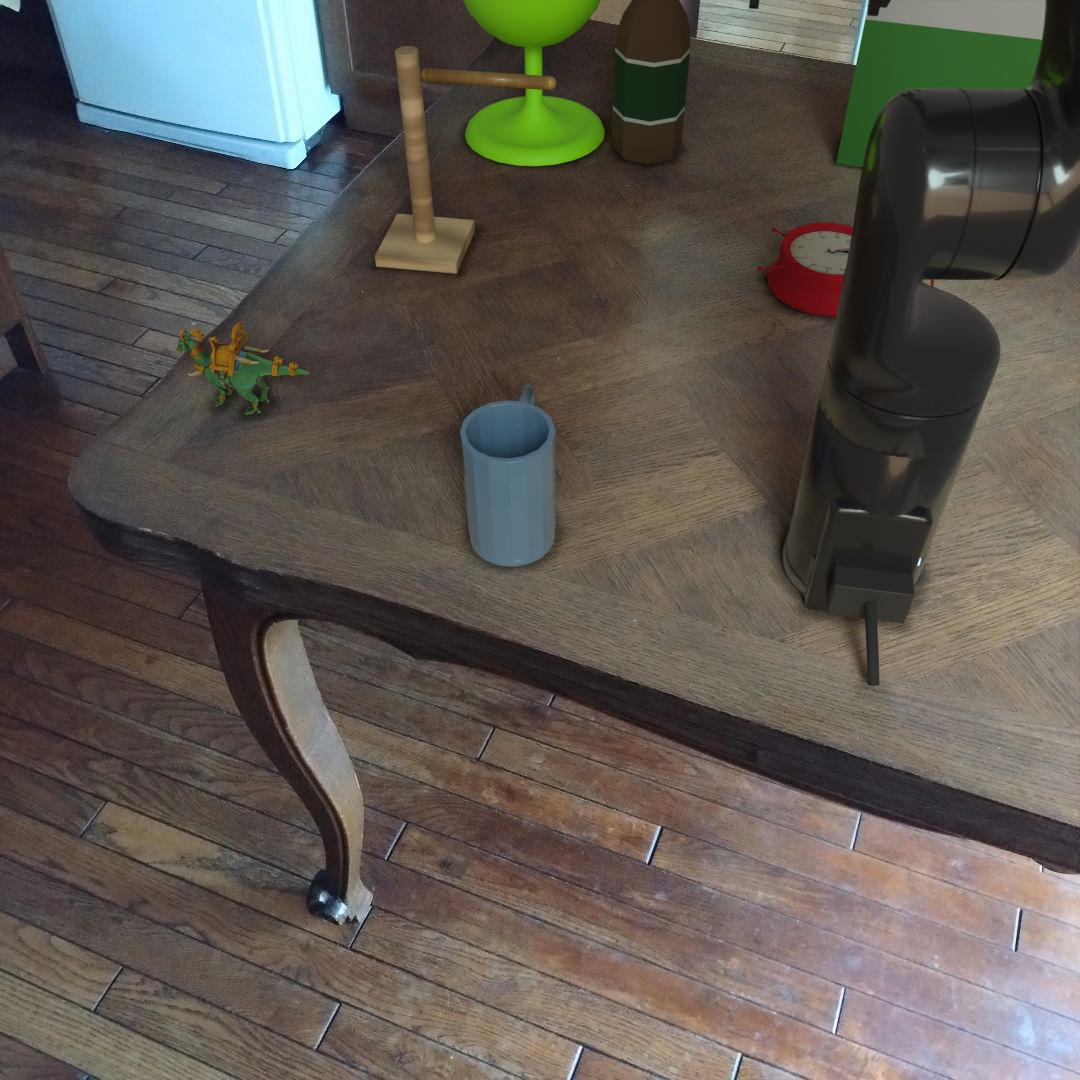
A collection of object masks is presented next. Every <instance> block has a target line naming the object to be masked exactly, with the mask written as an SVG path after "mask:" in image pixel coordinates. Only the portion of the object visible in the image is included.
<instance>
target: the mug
mask: <svg viewBox="0 0 1080 1080" xmlns="http://www.w3.org/2000/svg"><path fill="white" fill-rule="evenodd" d="M534 397H535V395H534V388H533V387H532V386H531V385H530V384H525V385H523V386H522V387H521V390H520V391H519V395H518V399H517V400H509V399H506V400H500V401H493V402H488V403H485V404H484V405H482V406H480V407H477V408H474V410H472V411H471V412H470V414H468V415H467V416H466V417H465V418H464V419H463V422H462V424H461V427H460V430H459V437H460V438H459V440H460V451H461V461H462V475H463V485H464V486H463V487H464V495H465V507H466V518H467V519H466V520H467V529H468V535H469V542H470V546H471V547H472V549H473V551H474V552H475V553H476V554H477V555H478V557H480V558H481V559H482V560H483V561H485V562H488V563H491V564H492V565H496V566H499V567H507V568H508V567H510V568H511V567H514V568H515V567H522V566H526V565H530V564H532V563H535V562H537V561H538V560H540V559H542V558H543V557H544V556H546V554H548V552H549V551H550V550H551V548H552V547H553V546H554V545H553V544H554V543H555V539H556V529H557V527H556V526H557V522H556V521H557V519H556V513H557V512H556V511H557V510H556V506H557V505H556V501H557V499H556V497H557V495H556V493H557V492H556V486H557V485H556V483H557V481H556V477H557V476H556V475H557V474H556V473H557V472H556V461H557V460H556V427H555V424H554V422H553V418H552V417H551V416H550V415H549V414H548V412H546V411H545V410H544V409H542V407H540V406H539V407H538V406H537V405H535V404H534V403H535V399H534Z"/></svg>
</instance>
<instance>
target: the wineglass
mask: <svg viewBox="0 0 1080 1080" xmlns="http://www.w3.org/2000/svg"><path fill="white" fill-rule="evenodd" d="M601 1H602V0H462V2H463V4H464V5H465V8H466V10H467V12H468V13H469V14H470V15H471V16H472V18H473V19H474V20H475V21H476V23H478V25H479V26H480V27H481V28H482V29H483V30H484V31H485V32H486V33H488V34H490V35H492V37H495V38H496V39H498V40H499V41H501V42H503V43H504V44H508V45H511V46H516V47H522V48H524V74H525V75H540V76H543V47H547V46H552V45H556V44H559V43H562V42H564V41H565V40H567V39H568V38H569V37H571V36H572V35H574V34H575V33H577V32H578V31H580V30H581V29H582V28H583V27H584V25H586V23H587V22H588V21H589V19H590V18H591V17H592V16H593V14H594V13H595V12H596V11H597V9H598V8H599V5H600V2H601ZM524 90H525V95H524V96H516V97H510V98H506V99H502V100H499V101H497V102H494V103H491V104H488V105H486V106H485V107H483V108H481V109H480V110H478V111H477V112H476V113H475V114H474V115H473V116H472V117H471V118H470V120H468V123H467V126H466V128H465V131H464V136H465V142H466V144H468V146H469V148H471V150H472V151H473V152H475V153H477V154H479V155H480V156H482V157H484V158H486V159H489V160H491V161H494V162H497V163H502V164H507V165H512V166H518V167H519V166H520V167H521V166H522V167H523V166H524V167H526V166H527V167H544V166H555V165H560V164H563V163H568V162H573V161H575V160H577V159H580V158H582V157H585V156H587V155H589V154H590V153H592V152H593V151H595V150H596V149H597V148H599V146H600V145H601V143H602V142H603V141H604V138H605V132H606V130H605V127H604V124H603V122H602V120H601V118H600V117H599V116H598V115H597V114H596V113H595V112H594V111H593V110H592V109H591V108H589V107H587V106H586V105H583V104H581V103H580V102H577V101H573V100H571V99H567V98H563V97H557V96H550V95H543V93H544V90H539V89H524Z"/></svg>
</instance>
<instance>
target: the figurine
mask: <svg viewBox="0 0 1080 1080" xmlns="http://www.w3.org/2000/svg"><path fill="white" fill-rule="evenodd" d="M238 331H239V333H238ZM244 331H245V327H244V324H243V322H237V323H236V324H234V326H233V328H232V331H231V335H230V337H231V342H230V344H227V343H219V339H218V337H217V336H212V337H211V336H210V337H209V338H208V341H209V343H210V345H211V348H212V351H211V352H210V353H208V352H207V351H206V349H205V347H204V346H203V344H202V343H201V342H203V338H204V336H205V333H204V332H203V331H202V330H200V329H199V328H193V329H192V330H190V332H188V330H187V329H185V328H184V329H181V330H180V332H179V337H180V338H179V340H178V342H177V346H176V349H175V350H176V353H177V354H179V355H180V354H182V352H188V351H190V356H191V358H192V360H193V363H192V365H193V367H194V368H195V370H196V371H195V372H193V373H188V372H187V373H186V374H187V375H188V376H190V377H193V378H194V377H196V378H197V377H200V376H202V375H204V376H205V379H206V380H207V382H208V383H209V384H210V385H211V386H212V387H213V388H214V389H216V390H217V391H218V392H219V393H220V394H219V396H218V400H215V404H214V407H219V406H222V405H223V404H224V403H225V402H226V400H227V399H226V398H227V396H231V395H232V394H233V392H234V390H235V391H236V392H237V393H238V396H240V397H241V398H243V399H244V400H246V401H249V402H251V406H248V407H247V408H246V409H245V411H244V415H246V416H247V415H253V414H254V413H256V412H257V414H261V413H262V411H261V409H259V407H258V406H259V402H265V401H266V403H267V404H268V403H270V400H269V398H268V392H269V389H270V387H269V386H268V385H267V384H266V383H265V381H264V377H265V376H271V377H279V376H285V375H286V376H291V377H294V376H295V377H296V376H307V375H309V374H310V371H308V370H306V369H303V368H299V364H298V363H295V362H289V364H288V365H284V364H283V363H284V358H281V357H279V356H278V355H276V356H274V357H273V360H268V359H266V358H264V357H260V356H258V355H256V354H266V353H268V352H269V351H270V349H261V348H257V347H254V346H253V347H252V346H248V345H246V344H244V341H247V340H248V335H249V333H247V332H244ZM184 333H185V334H184ZM192 337H196V339H193V338H192ZM253 353H256V354H253ZM255 386H257V387H259V388H260V389H261V392H260V393H261V394H258V396H256V395H255V394H254V393H253V389H254V387H255ZM224 389H227V390H226V391H225V390H224Z"/></svg>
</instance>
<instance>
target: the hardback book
mask: <svg viewBox="0 0 1080 1080" xmlns="http://www.w3.org/2000/svg"><path fill="white" fill-rule="evenodd" d="M1044 18H1045V0H891V1H890V3H889V4H888V6H887V8H880V9H879V14H878V16H868V11H867V10H866V14H865V18H864V23H863V28H862V34H861V37H860V38H861V40H860V43H859V47H858V53H857V57H856V63H855V68H854V73H853V78H852V83H851V88H850V93H849V98H848V101H847V102H848V103H847V108H846V113H845V118H844V123H843V127H842V133H841V138H840V142H839V147H838V153H837V156H836V157H837V158H836V163H835V164H837V165H844V166H849V167H855V168H862V167H863V162H864V156H865V152H866V148H867V145H868V141H869V138H870V134H871V131H872V128H873V126H874V124H875V121H876V119H877V117H878V115H879V113H880V112H881V110H882V108H883V107H884V105H885V104H886V103H887V102H888V101H889V99H890V98H891V97H893V96H894V95H895V94H897V93H898V92H901V91H903V90H908V89H915V88H998V89H1027V88H1028V87H1029V85H1030V83H1031V81H1032V78H1033V76H1034V73H1035V69H1036V66H1037V62H1038V58H1039V53H1040V48H1041V43H1042V36H1043V28H1044Z"/></svg>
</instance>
